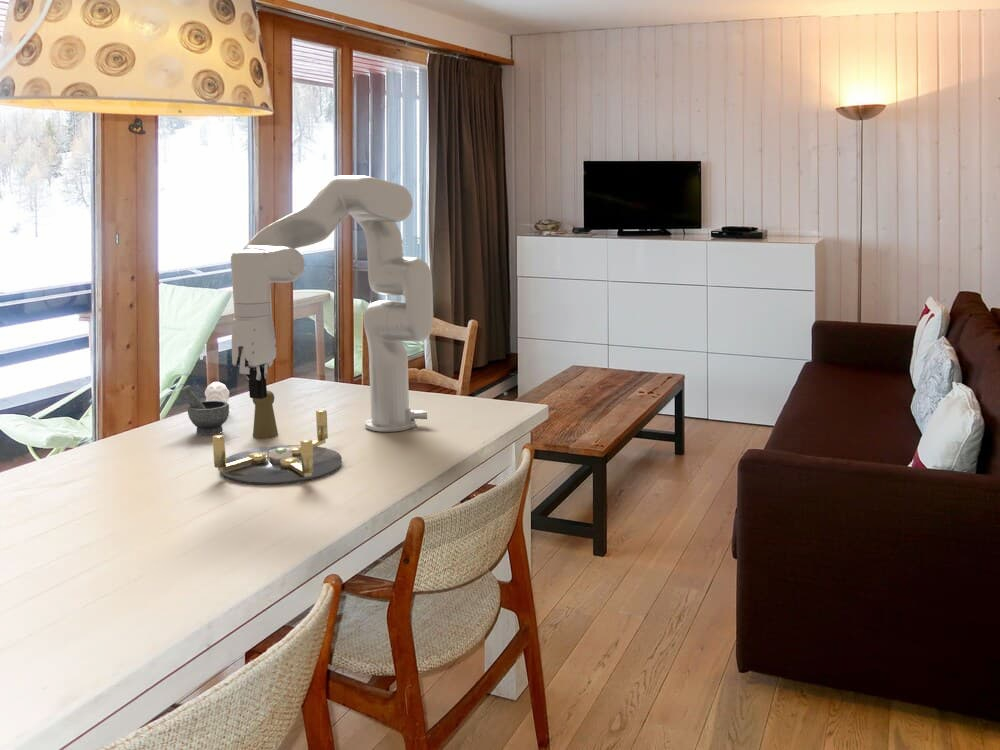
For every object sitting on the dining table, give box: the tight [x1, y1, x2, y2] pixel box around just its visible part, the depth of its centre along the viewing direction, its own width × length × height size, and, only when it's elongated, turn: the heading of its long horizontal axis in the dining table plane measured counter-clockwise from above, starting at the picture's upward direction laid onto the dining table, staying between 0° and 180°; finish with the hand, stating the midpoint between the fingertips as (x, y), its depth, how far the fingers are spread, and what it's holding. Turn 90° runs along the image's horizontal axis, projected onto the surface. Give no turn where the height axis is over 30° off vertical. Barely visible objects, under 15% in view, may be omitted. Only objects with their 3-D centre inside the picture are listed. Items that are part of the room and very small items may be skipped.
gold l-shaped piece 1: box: [212, 434, 267, 472], centre depth 217 cm, size 13×4×8 cm, turn 143°
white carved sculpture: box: [204, 381, 230, 403], centre depth 266 cm, size 6×8×12 cm
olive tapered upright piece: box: [251, 390, 279, 439], centre depth 247 cm, size 6×6×11 cm
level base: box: [219, 444, 343, 486], centre depth 222 cm, size 26×26×4 cm
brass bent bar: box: [289, 409, 329, 457], centre depth 230 cm, size 13×4×8 cm, turn 153°
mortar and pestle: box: [179, 384, 230, 436], centre depth 250 cm, size 11×9×12 cm
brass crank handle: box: [280, 439, 314, 477], centre depth 213 cm, size 13×4×8 cm, turn 33°
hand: (258, 397), depth 213 cm, fingers closed
